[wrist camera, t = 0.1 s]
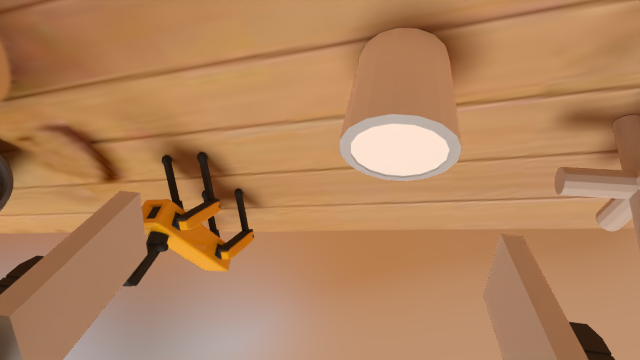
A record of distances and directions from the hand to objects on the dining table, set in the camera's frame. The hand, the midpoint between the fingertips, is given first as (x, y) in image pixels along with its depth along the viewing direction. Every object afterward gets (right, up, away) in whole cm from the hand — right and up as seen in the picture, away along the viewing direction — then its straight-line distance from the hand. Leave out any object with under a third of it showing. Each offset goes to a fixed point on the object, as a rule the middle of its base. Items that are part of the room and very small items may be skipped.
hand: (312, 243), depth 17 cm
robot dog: (-12, +4, +29) cm, 31 cm away
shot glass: (+6, +10, +13) cm, 17 cm away
